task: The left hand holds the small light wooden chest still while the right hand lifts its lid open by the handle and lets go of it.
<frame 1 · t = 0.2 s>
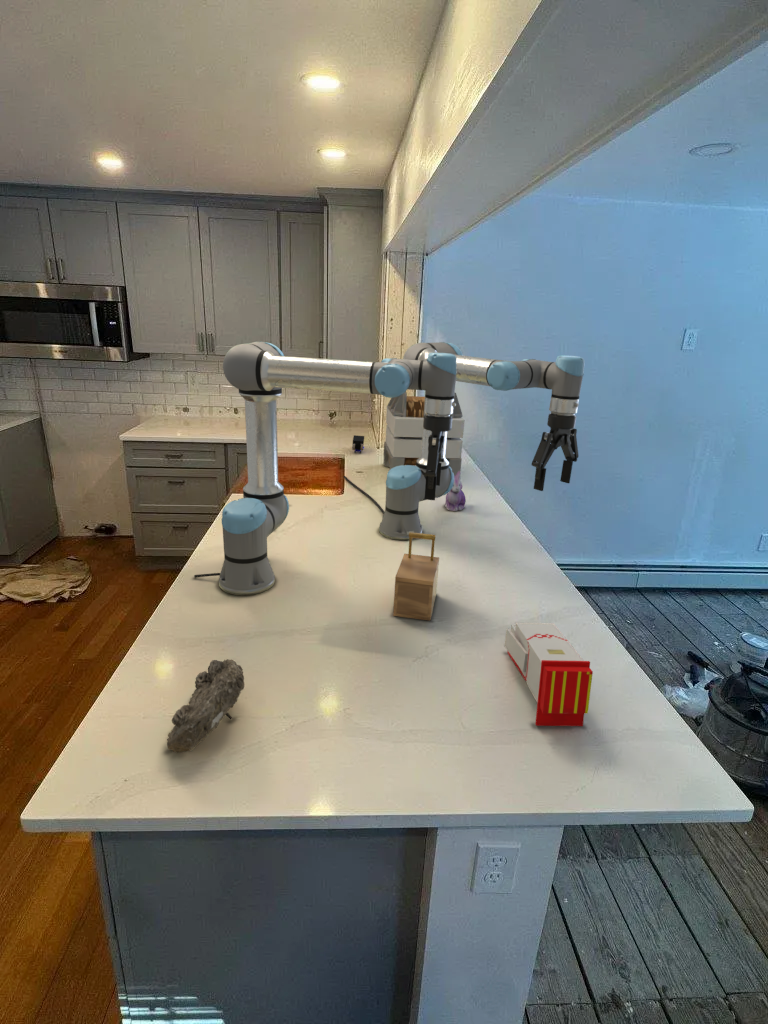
left hand: (432, 492, 155), 28 cm above the counter, tool pointing down, fingers open, 13 cm apart
right hand: (551, 486, 166), 28 cm above the counter, tool pointing down, fingers open, 13 cm apart
toy: (538, 683, 122), on the counter
figurine character: (358, 451, 311), on the counter
chest: (415, 604, 152), on the counter
lid: (419, 556, 148), point 14 cm above the counter, hinge at 0.0°
fossil: (212, 717, 108), on the counter
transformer: (419, 473, 275), on the counter
figurine: (454, 508, 229), on the counter
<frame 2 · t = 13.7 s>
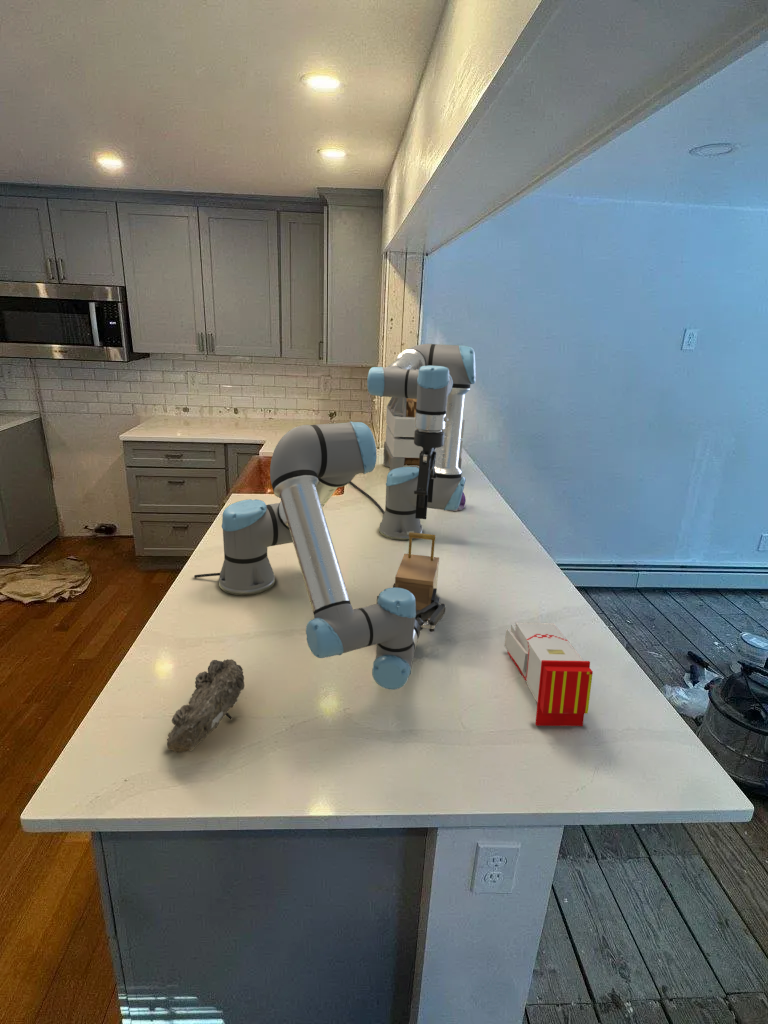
left hand: (414, 590, 147), 6 cm above the counter, tool horizontal, fingers closed on chest, 10 cm apart
right hand: (424, 509, 149), 25 cm above the counter, tool pointing down, fingers open, 13 cm apart
chest: (415, 604, 152), on the counter, touching left hand
everything else where it was.
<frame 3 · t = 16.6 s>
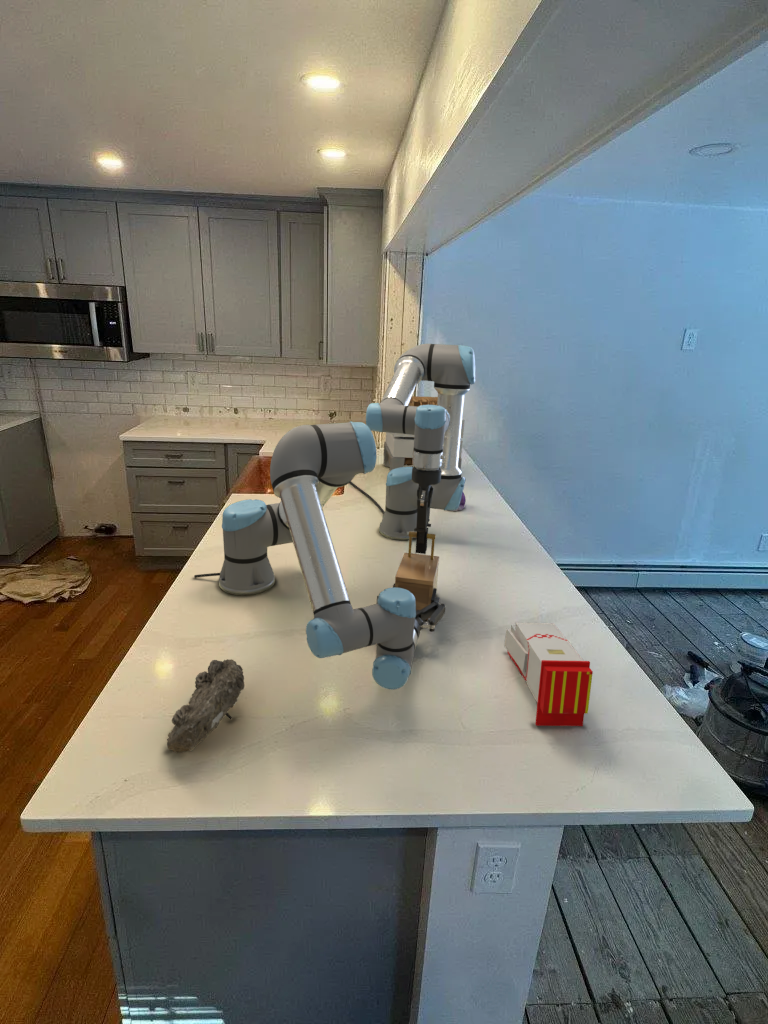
left hand: (414, 590, 147), 6 cm above the counter, tool horizontal, fingers closed on chest, 10 cm apart
right hand: (421, 551, 153), 14 cm above the counter, tool pointing down, fingers closed on lid, 1 cm apart
chest: (415, 604, 152), on the counter, touching left hand
lid: (418, 555, 148), point 14 cm above the counter, hinge at 1.1°, touching right hand
everything else where it was.
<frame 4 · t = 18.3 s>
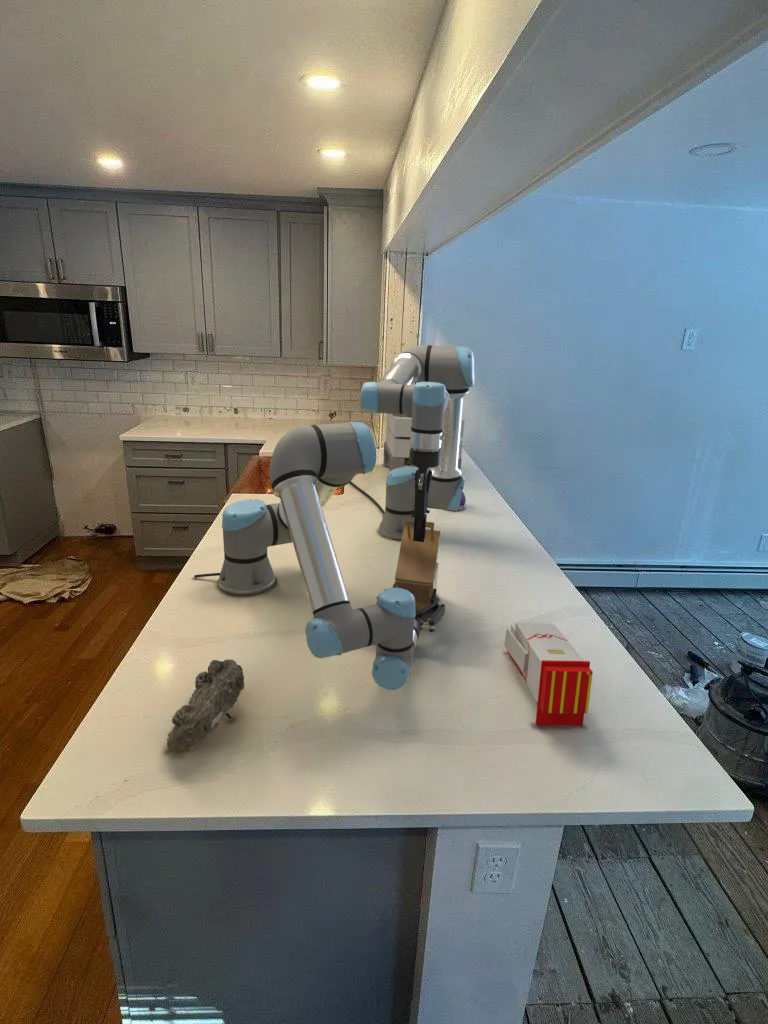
left hand: (414, 590, 147), 6 cm above the counter, tool horizontal, fingers closed on chest, 10 cm apart
right hand: (419, 539, 144), 20 cm above the counter, tool pointing down, fingers closed on lid, 1 cm apart
chest: (415, 605, 152), on the counter, touching left hand
lid: (417, 548, 143), point 18 cm above the counter, hinge at 38.8°, touching right hand
everything else where it was.
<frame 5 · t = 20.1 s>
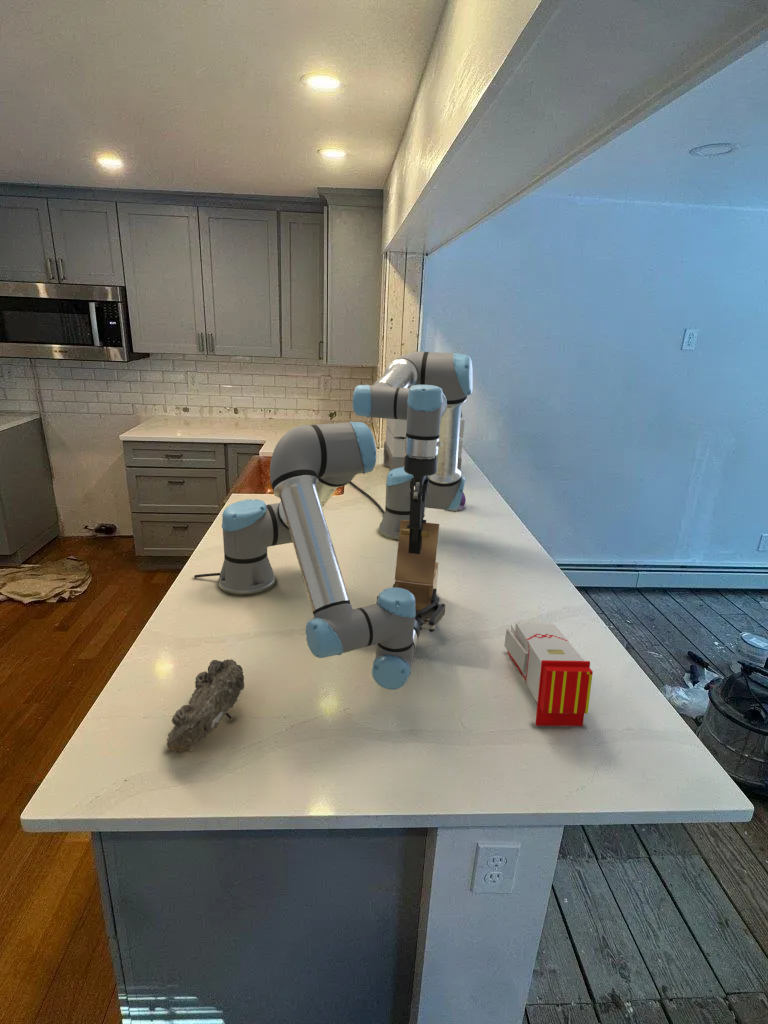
left hand: (414, 590, 147), 6 cm above the counter, tool horizontal, fingers closed on chest, 10 cm apart
right hand: (414, 550, 136), 20 cm above the counter, tool pointing down, fingers closed
chest: (415, 605, 152), on the counter, touching left hand
lid: (415, 553, 138), point 19 cm above the counter, hinge at 71.9°
everything else where it was.
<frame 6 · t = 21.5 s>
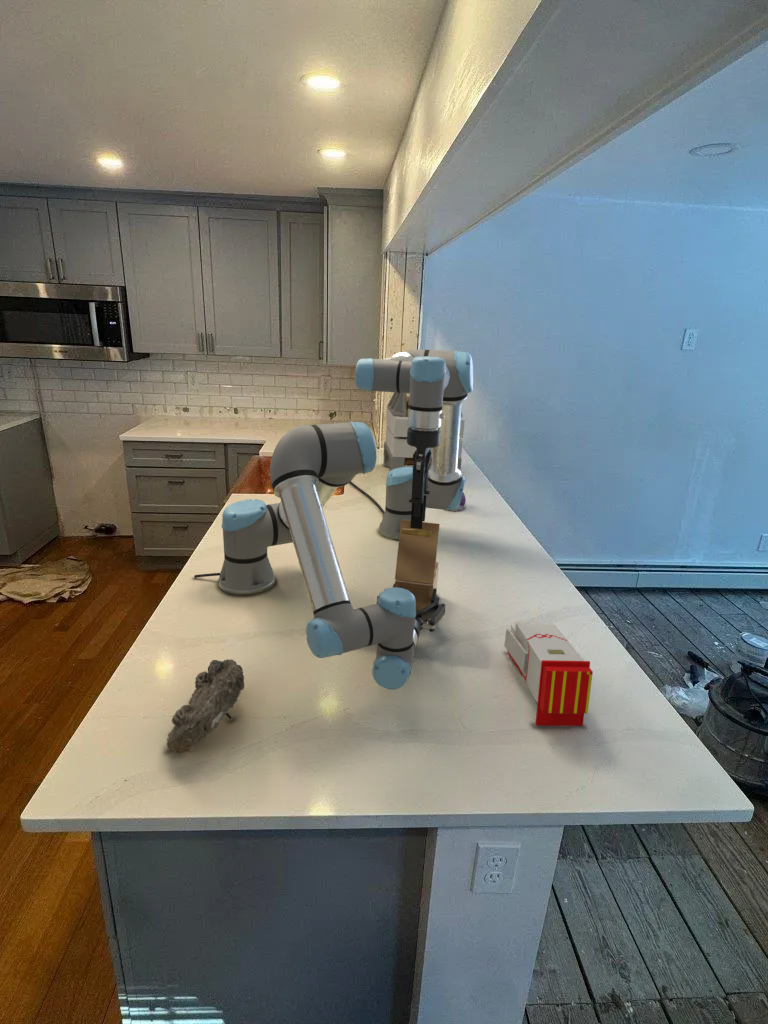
left hand: (415, 590, 147), 6 cm above the counter, tool horizontal, fingers closed on chest, 10 cm apart
right hand: (417, 523, 136), 26 cm above the counter, tool pointing down, fingers open, 4 cm apart
chest: (415, 604, 152), on the counter, touching left hand
lid: (415, 552, 138), point 19 cm above the counter, hinge at 70.7°
everything else where it was.
when the left hand's fingers open (6 cm above the counter, at t = 24.1 s): chest stays where it is, on the counter.
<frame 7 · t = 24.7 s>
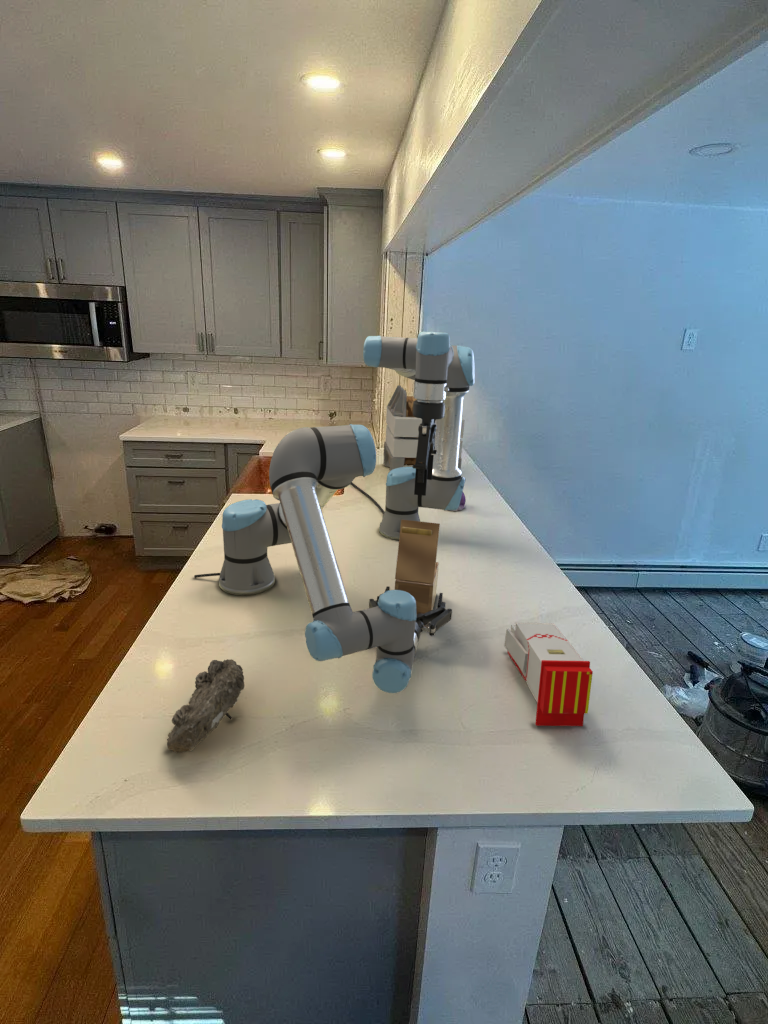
left hand: (414, 594, 145), 6 cm above the counter, tool horizontal, fingers open, 13 cm apart
right hand: (423, 486, 141), 33 cm above the counter, tool pointing down, fingers open, 13 cm apart
chest: (415, 604, 153), on the counter
lid: (415, 552, 139), point 19 cm above the counter, hinge at 69.4°
everything else where it was.
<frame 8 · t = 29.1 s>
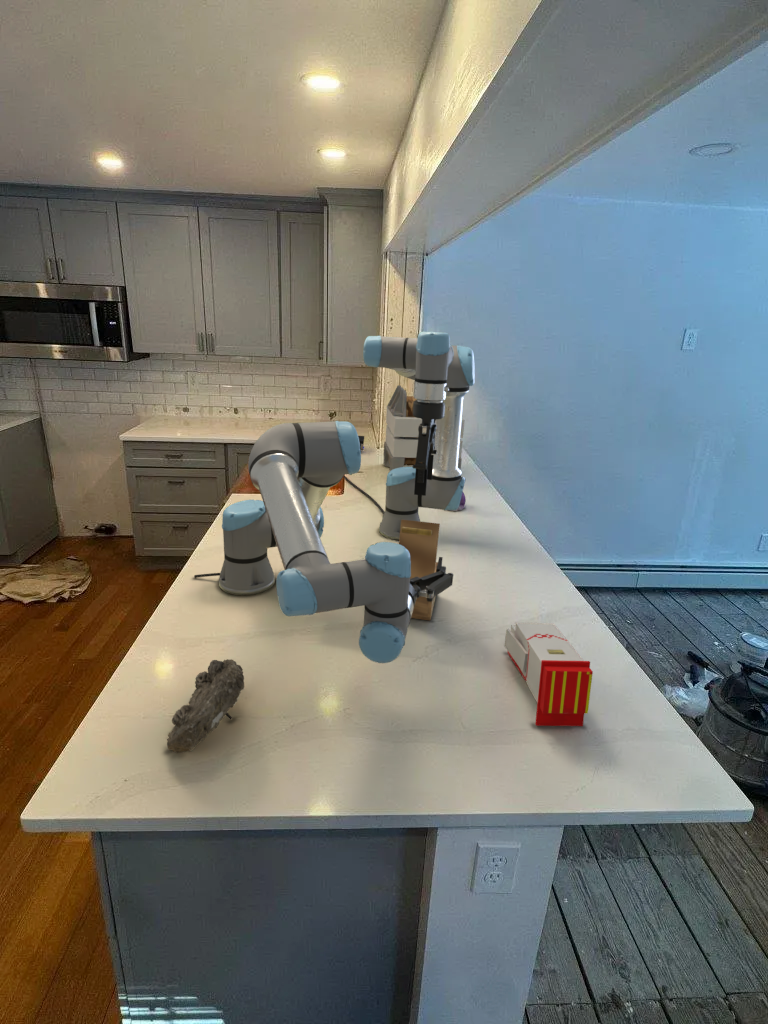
left hand: (410, 558, 128), 22 cm above the counter, tool horizontal, fingers open, 13 cm apart
right hand: (423, 486, 141), 33 cm above the counter, tool pointing down, fingers open, 13 cm apart
nothing on the counter moved.
at the end: lid at +69° (first picture: +0°); the left hand is holding nothing; the right hand is holding nothing; chest tilted 0°; chest never tilted more than 1° during the clip; chest moved 0.1 cm from its start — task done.
